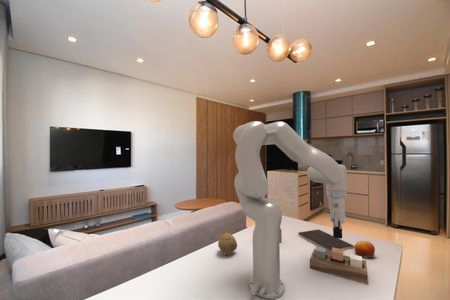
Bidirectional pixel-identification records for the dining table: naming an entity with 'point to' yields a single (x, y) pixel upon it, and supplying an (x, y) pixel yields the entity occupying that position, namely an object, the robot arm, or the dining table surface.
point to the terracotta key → (337, 254)
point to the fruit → (364, 249)
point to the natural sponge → (227, 243)
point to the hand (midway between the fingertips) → (337, 237)
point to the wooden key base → (339, 267)
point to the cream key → (356, 261)
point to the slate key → (320, 252)
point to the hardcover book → (325, 240)
